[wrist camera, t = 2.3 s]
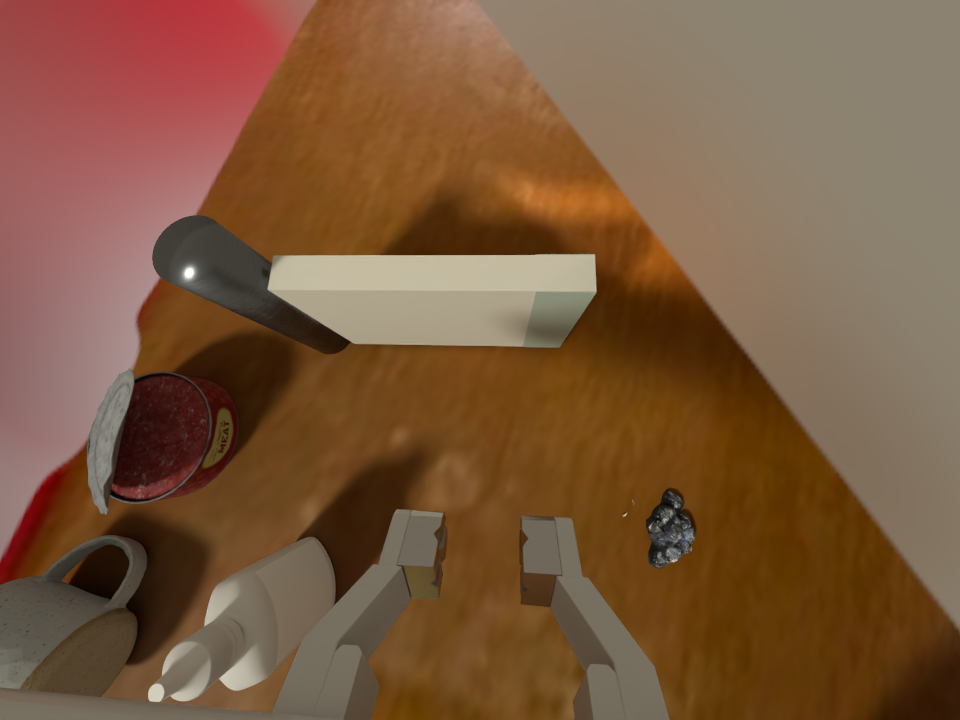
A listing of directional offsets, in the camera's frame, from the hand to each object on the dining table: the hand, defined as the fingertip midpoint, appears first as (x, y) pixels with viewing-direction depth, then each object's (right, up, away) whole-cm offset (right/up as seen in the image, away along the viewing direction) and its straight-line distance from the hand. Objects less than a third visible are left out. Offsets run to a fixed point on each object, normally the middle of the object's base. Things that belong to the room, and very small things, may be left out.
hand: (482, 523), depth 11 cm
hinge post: (-13, +7, +19) cm, 24 cm away
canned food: (-25, -1, +18) cm, 31 cm away
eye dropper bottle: (-13, -11, +15) cm, 23 cm away
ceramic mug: (-29, -14, +16) cm, 36 cm away
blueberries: (+13, -7, +15) cm, 21 cm away
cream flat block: (-2, +7, +18) cm, 20 cm away
